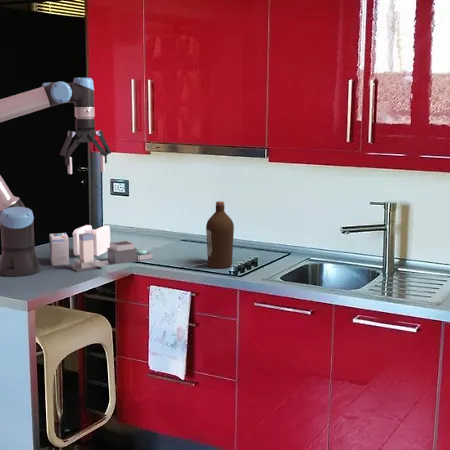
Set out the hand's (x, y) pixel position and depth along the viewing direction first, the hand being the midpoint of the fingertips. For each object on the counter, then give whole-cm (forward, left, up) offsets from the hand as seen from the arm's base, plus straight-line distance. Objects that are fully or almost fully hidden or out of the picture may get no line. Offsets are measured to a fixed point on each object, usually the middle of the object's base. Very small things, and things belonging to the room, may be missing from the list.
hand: (86, 172), depth 273 cm
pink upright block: (-7, -14, -34) cm, 37 cm away
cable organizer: (+4, +7, -35) cm, 36 cm away
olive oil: (+38, -38, -35) cm, 64 cm away
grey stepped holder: (+4, -14, -35) cm, 38 cm away
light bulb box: (-12, +1, -35) cm, 37 cm away
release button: (+16, -14, -32) cm, 39 cm away
